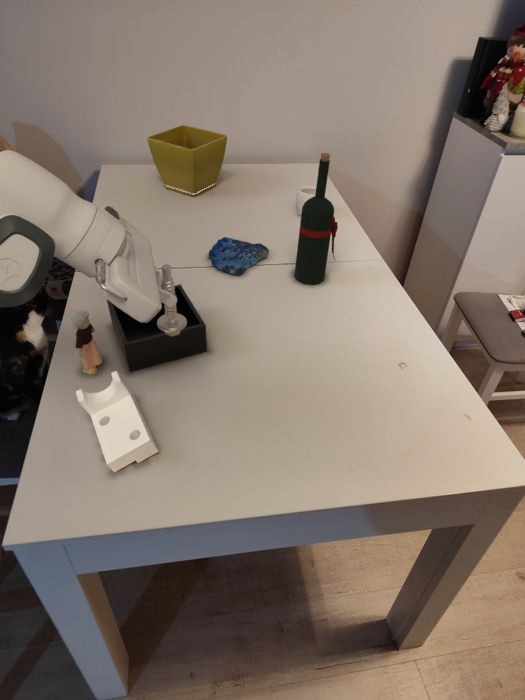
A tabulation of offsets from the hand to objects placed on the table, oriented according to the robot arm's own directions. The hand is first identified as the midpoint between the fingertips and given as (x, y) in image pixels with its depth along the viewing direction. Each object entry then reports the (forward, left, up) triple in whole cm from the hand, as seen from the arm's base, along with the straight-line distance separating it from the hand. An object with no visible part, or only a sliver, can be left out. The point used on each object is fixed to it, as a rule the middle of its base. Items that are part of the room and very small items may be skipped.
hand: (173, 295), depth 71 cm
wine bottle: (+42, +23, -20) cm, 52 cm away
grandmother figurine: (-14, +11, -20) cm, 26 cm away
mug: (+60, +58, -20) cm, 86 cm away
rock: (+27, +39, -20) cm, 52 cm away
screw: (-1, 0, -7) cm, 7 cm away
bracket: (-13, -8, -20) cm, 25 cm away
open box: (-1, +14, -19) cm, 24 cm away
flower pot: (+32, +90, -20) cm, 97 cm away
